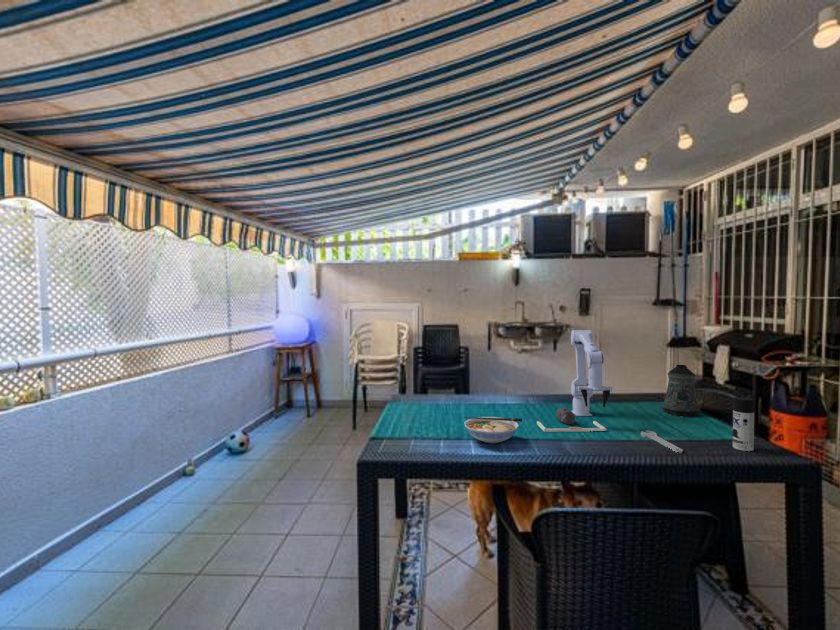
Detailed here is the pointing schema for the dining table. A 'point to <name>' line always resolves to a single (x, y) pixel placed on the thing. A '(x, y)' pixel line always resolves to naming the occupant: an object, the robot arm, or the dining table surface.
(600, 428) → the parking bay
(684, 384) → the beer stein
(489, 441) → the ramen bowl
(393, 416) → the dining table surface
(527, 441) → the dining table surface
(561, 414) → the perforated stone tool
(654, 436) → the adjustable wrench
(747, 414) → the spray can
